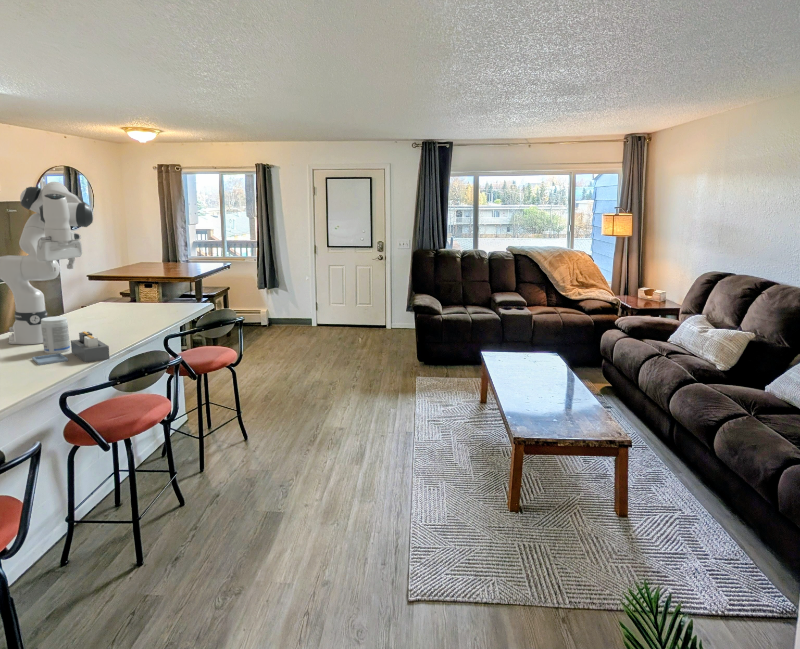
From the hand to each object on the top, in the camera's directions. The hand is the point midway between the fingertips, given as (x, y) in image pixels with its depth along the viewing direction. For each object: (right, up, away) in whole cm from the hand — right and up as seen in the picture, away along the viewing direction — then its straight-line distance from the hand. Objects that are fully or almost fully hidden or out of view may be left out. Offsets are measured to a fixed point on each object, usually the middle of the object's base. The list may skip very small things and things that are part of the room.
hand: (61, 270), depth 216 cm
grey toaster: (+7, -36, +8) cm, 37 cm away
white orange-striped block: (+10, -35, +5) cm, 37 cm away
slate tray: (-4, -37, 0) cm, 37 cm away
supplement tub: (-10, -34, +13) cm, 38 cm away
